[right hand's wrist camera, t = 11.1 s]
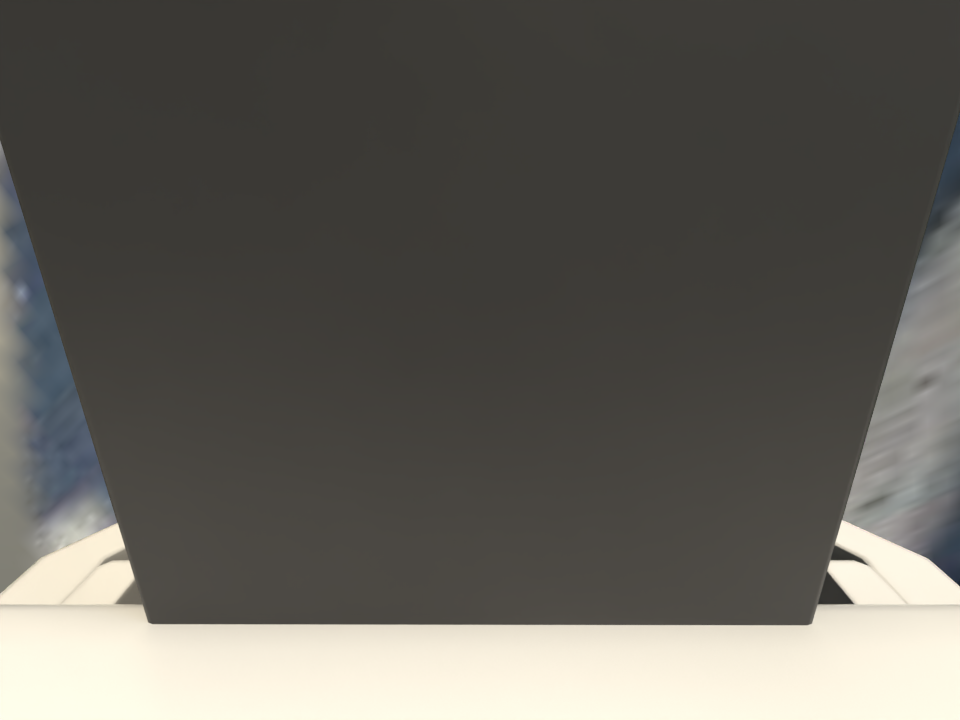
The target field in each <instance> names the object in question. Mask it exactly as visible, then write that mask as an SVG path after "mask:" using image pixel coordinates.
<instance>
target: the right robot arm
mask: <svg viewBox="0 0 960 720" xmlns="http://www.w3.org/2000/svg"><path fill="white" fill-rule="evenodd" d="M0 720H960V586H959V585H958V584H956V583H955V582H954V581H953V580H952V579H951V578H950V577H948V576H947V575H946V574H945V573H944V572H943V571H942V570H940V569H939V568H938V567H937V566H936V565H935V564H934V563H933V562H931V561H930V560H929V559H928V558H925V557H923V556H921V555H919V554H917V553H914V552H912V551H910V550H908V549H905V548H903V547H901V546H899V545H897V544H894V543H892V542H890V541H888V540H886V539H883V538H881V537H879V536H877V535H875V534H872V533H870V532H868V531H866V530H863V529H861V528H859V527H857V526H855V525H852V524H850V523H848V522H846V521H844V520H842V521H841V525H840V528H839V532H838V535H837V539H836V542H835V546H834V549H833V553H832V556H831V560H830V563H829V566H828V570H827V573H826V577H825V580H824V584H823V587H822V591H821V594H820V598H819V601H818V605H817V608H816V612H815V615H814V618H813V622H812V624H810V625H310V624H151V623H148V620H147V617H146V614H145V611H144V607H143V604H142V601H141V598H140V594H139V591H138V588H137V585H136V581H135V578H134V575H133V571H132V568H131V565H130V562H129V558H128V555H127V552H126V549H125V545H124V542H123V539H122V536H121V532H120V529H119V526H118V523H116V524H114V525H112V526H110V527H108V528H105V529H103V530H101V531H99V532H97V533H94V534H92V535H90V536H88V537H86V538H83V539H81V540H79V541H77V542H75V543H72V544H70V545H68V546H66V547H64V548H62V549H59V550H57V551H55V552H53V553H51V554H48V555H46V556H44V557H42V558H40V559H39V560H38V561H37V562H36V563H34V564H33V565H32V566H31V567H30V568H29V569H28V570H27V571H25V572H24V573H23V574H22V575H21V576H20V577H19V578H18V579H16V580H15V581H14V582H13V583H12V584H11V585H10V586H9V587H7V588H6V589H5V590H4V591H3V592H2V593H1V594H0Z"/></svg>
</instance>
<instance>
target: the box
mask: <svg viewBox="0 0 960 720" xmlns="http://www.w3.org/2000/svg"><path fill="white" fill-rule="evenodd" d="M959 112H960V0H0V141H1V144H2V147H3V150H4V154H5V157H6V160H7V163H8V167H9V170H10V173H11V176H12V180H13V183H14V186H15V190H16V193H17V196H18V199H19V203H20V206H21V209H22V212H23V216H24V219H25V222H26V225H27V229H28V232H29V235H30V239H31V242H32V245H33V248H34V252H35V255H36V258H37V261H38V265H39V268H40V271H41V274H42V278H43V281H44V284H45V287H46V291H47V294H48V297H49V301H50V304H51V307H52V310H53V314H54V317H55V320H56V323H57V327H58V330H59V333H60V336H61V340H62V343H63V346H64V349H65V353H66V356H67V359H68V363H69V366H70V369H71V372H72V376H73V379H74V382H75V385H76V389H77V392H78V395H79V398H80V402H81V405H82V408H83V412H84V415H85V418H86V421H87V425H88V428H89V431H90V434H91V438H92V441H93V444H94V447H95V451H96V454H97V457H98V460H99V464H100V467H101V470H102V474H103V477H104V480H105V483H106V487H107V490H108V493H109V496H110V500H111V503H112V506H113V509H114V513H115V516H116V519H117V523H118V526H119V529H120V532H121V536H122V539H123V542H124V545H125V549H126V552H127V555H128V558H129V562H130V565H131V568H132V571H133V575H134V578H135V581H136V585H137V588H138V591H139V594H140V598H141V601H142V604H143V607H144V611H145V614H146V617H147V620H148V623H151V624H310V625H810V624H812V622H813V618H814V615H815V612H816V608H817V605H818V601H819V598H820V594H821V591H822V587H823V584H824V580H825V577H826V573H827V570H828V566H829V563H830V560H831V556H832V553H833V549H834V546H835V542H836V539H837V535H838V532H839V528H840V525H841V521H842V518H843V514H844V511H845V508H846V504H847V501H848V497H849V494H850V490H851V487H852V483H853V480H854V476H855V473H856V469H857V466H858V462H859V459H860V456H861V452H862V449H863V445H864V442H865V438H866V435H867V431H868V428H869V424H870V421H871V417H872V414H873V410H874V407H875V404H876V400H877V397H878V393H879V390H880V386H881V383H882V379H883V376H884V372H885V369H886V365H887V362H888V358H889V355H890V352H891V348H892V345H893V341H894V338H895V334H896V331H897V327H898V324H899V320H900V317H901V313H902V310H903V306H904V303H905V300H906V296H907V293H908V289H909V286H910V282H911V279H912V275H913V272H914V268H915V265H916V261H917V258H918V254H919V251H920V248H921V244H922V241H923V237H924V234H925V230H926V227H927V223H928V220H929V216H930V213H931V209H932V206H933V202H934V199H935V196H936V192H937V189H938V185H939V182H940V178H941V175H942V171H943V168H944V164H945V161H946V157H947V154H948V150H949V147H950V144H951V140H952V137H953V133H954V130H955V126H956V123H957V119H958V116H959Z"/></svg>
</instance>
